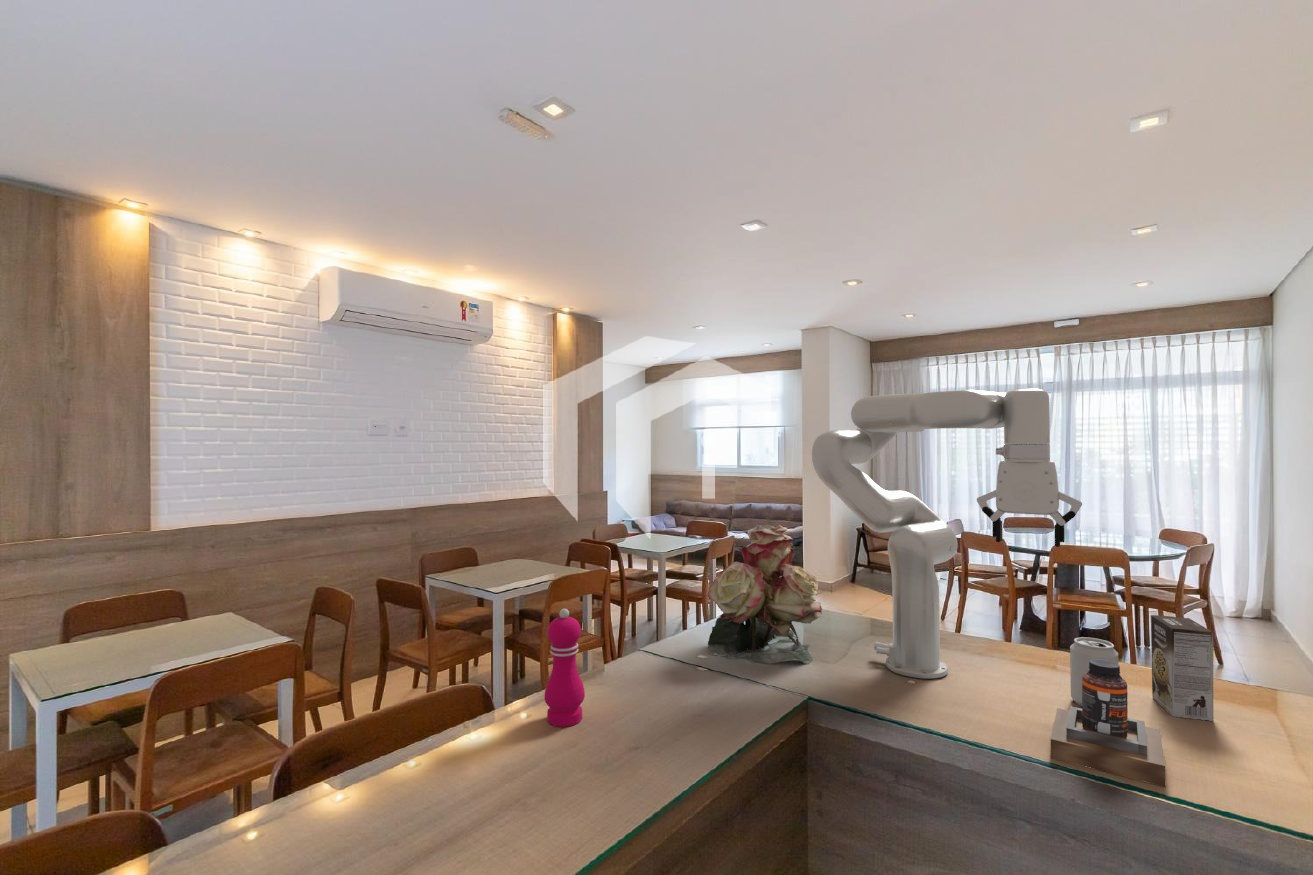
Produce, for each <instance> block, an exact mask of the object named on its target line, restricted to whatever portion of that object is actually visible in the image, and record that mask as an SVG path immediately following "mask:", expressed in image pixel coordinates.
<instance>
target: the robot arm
mask: <svg viewBox="0 0 1313 875" xmlns="http://www.w3.org/2000/svg"><path fill="white" fill-rule="evenodd" d="M850 417H851V420H852V421H851V422H852V423H853V425H854V426H856V429H833V430H829V431H825V432H822V433H821V434H819V436H817V437H816V438H815V440H814V442H813V445H812V447H811V461H812V466H813V469H814V471H815V473H816V475H817V476H818V478H819V479H820V481H821V482H822V484H824V485H825V486H826V487H827V488H828V489H829V490H830V491H832V493H834V494H835V496H837V497H838V498H839V499H840V500H841V501H842V502H843V503H844V505H845V506H846V507H847V508H849V509H850V510H851V512H852V513H853V514H854V515H855V516H856V517H857V518H859V520H861V521H862V522H863V524H865V526H866V527H867V528H868V529H870V530H871V531H872V532H876V533H879V534H881V533H882V534H883V533H890V532H892V533H891V535H890V537H889V538H888V542H887V555H888V560H889V564H890V571H891V587H892V588H891V589H892V590H891V592H892V594H891V595H892V642H889V643H883V642H879V641H875V642H874V645H873V648H874V649H873V650H874V651H875V652H876V654H880V655H886V656H887V658H886V659H885V666H886V667H887V668H888V670H890V671H891V672H893V673H896V674H898V675H901V676H905V677H909V678H915V679H922V680H923V679H927V680H929V679H930V680H931V679H939V678H943V677H945V676H947V674H948V672H949V667H948V665H947V664H946V663H945V662H943V661H941V643H940V642H941V637H940V636H941V634H940V631H941V630H940V628H941V627H940V626H941V625H940V624H941V623H940V621H941V620H940V586H939V581H938V576H937V574H936V570H935V565H938V564H942V563H945V562H948V561H949V560H951V559H952V558H953V557H955V554H956V553H957V550H958V547H959V546H958V538H957V536H956V534H955V532H954V531H953V529H952V528H951V526H949V524H947V522H945V521H944V520H943V519H942V518H941V517H940V516H939V515H938V514H937V513H935V512H934V510H932V509H931V508H929V506H927V504H925V503H924V502H923V501H922V500H921V499H920V498H918V497H917V496H916V495H914V494H912V493H910V492H909V491H905V490H902V489H901V490H900V489H894V490H891V489H890V490H886V489H884V488H882V487H881V486H880V485H879V484H877V482H875V481H874V480H873V479H872V478H871V477H870V476H869V475H868V474H866V473H865V472H864V471H862V470H860V469H859V468H858V467H856V466H854V465H858V464H864V463H867V462H869V461H871V460H872V459H873V458H874V457H876V456H877V455H878V453H879V452H881V451H882V449H883V448H884V447H886V446H887V445H888V444H889V442H891V440H892V439H894V437H895V436H897V434H898V433H901V432H902V433H905V432H906V433H915V432H916V433H917V432H918V433H919V432H924V431H925V430H929V429H931V430H932V429H985V430H988V429H989V430H991V429H999V428H1003V435H1004V436H1003V440H1004V441H1003V443H1004V444H1003V446H1002V447H996V448H995V455H997V456H1002V457H1003V459H1004V460H1000V461H999V464H998V467H997V468H998V469H997V476H996V486H995V487H996V488H995V489H994V490H992V491H990V492H988V493H986V494H983V495H980V496H978V497H976V502H977V504H978V505H979V507H980V509H981V511H982V512H983V513H984V515H986V516H987V517H988V518H989V519H990V521H992V522H991V523H992V526H991V527H992V537H993V538H995V542H996V543H1000V542H1002V541H1003V520H1001V519H1002V517H1003V515H1004V514H1006V513H1007V514H1018V515H1019V514H1021V515H1022V514H1023V515H1036V516H1037V515H1041V516H1050V517H1051V518H1052V519H1053V520H1054V521H1055V525H1054V547H1056V548H1060V547H1061V543H1065V539H1066V538H1065V536H1066V535H1065V525H1067V523H1069V522H1070V521H1071V520H1073V518H1075V517H1076V515H1077V514H1078V512H1079V510H1080V509H1081V507H1082V506H1083V502H1082V501H1080V500H1078V499H1077V498H1074V497H1071V496H1070V495H1067V494H1066V493H1064V492H1062V491H1059V481H1058V474H1057V468H1056V464H1055V461H1052V460H1051V439H1050V438H1051V436H1050V434H1051V433H1050V429H1051V428H1050V427H1051V426H1050V395H1049V393H1048V392H1047V390H1045V389H1040V388H1025V389H1023V388H1022V389H1021V388H1020V389H1012V390H1009V391H1007V392H997V391H989V390H978V389H977V390H976V389H961V390H960V389H958V390H944V391H934V392H933V391H931V392H915V393H914V392H911V393H896V394H885V395H884V394H883V395H869V396H865V397H862V398H860V399H859V400H856V402H855V403H854V404H853V406H852V407H851V411H850ZM991 499H995V507H996V510H995V511H994V510H993V509H992V508H991V507H990V506H989V504H988V501H989V500H991ZM1060 501H1061V502H1064V503H1065V504H1068V505H1070V506H1071V507H1070V508H1069V511H1068V512H1066V513H1065V514H1064V515H1063V514H1062V513H1061V512H1059V511H1058V510H1059V508H1060Z"/></svg>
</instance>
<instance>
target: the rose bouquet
mask: <svg viewBox="0 0 1313 875" xmlns="http://www.w3.org/2000/svg"><path fill="white" fill-rule="evenodd" d="M787 531H788V527H784V526H782V525H781V524H777V526H776V527H775V526H773V525H771V524H760V525H758V524H757V525H756V526H754V527H753V528H750V529H748V530H745V531H744V533H745V534H746V535H747V536H748V538H749V540H750V543H749V544H748V545H746V546H743V547H740V548H738V550H739V551H740V552H741V556H742V557H743V562H744V563H743V562H739V561H734V562H732V563H730V564H729V565H727V566H726V567H725V568H724V570H722V572H721V573H720V574H718V576H716V577H715V578H714V580H713V581H712V584H711V585H710V586H709V587H708V588H709V589H708V592H707V597H708V599H709V600H712V601H713V602H714V603H715V604H716V605H717V607H718V609H720V612H723V613H721V614H720V615H719V617H718V618H716V620H715V625H714V626H712V627H711V633H710V635H709V638H708V641H707V650H708V653H709V654H710V656H715V657H724V656H728V657H726V658H724V659H725V660H726V659H733V658H735V659H736V658H739V659H742V658H743V659H744V658H746V659H747V660H749V661H751V662H752V663H756V664H766V665H767V664H768V665H769V664H777V663H781V662H789V661H800V662H802V663H803V664H804V665H807V664H808V665H809V664H810V662H812V661H813V657H812V655H811V653H809V651H808V649H809V648H810V647H811V646H812V645H811V644H803V645H802V643H801V642H800V641H799V639H800V637H799V636H798V634H797V631H796V628H795V626H794V625H793V622H795V623H801V624H810V625H811V624H812V622H814V621H816V620H817V619H819V618H821V617H822V614H823V613H822V612H823V611H822V610H823V608H822V607H823V606H822V605H821V601H816V596H817V595H818V592H817V591H818V590H819V581H818V579H817V577H816V576H814V575H812V574H810V573H809V572H808V571H807V570H806V569H805V568H803V567H801V566H798V565H792V561H793V559H794V557H795V554H796V549H795V548H793V545H794V543H792V542H793V541H794V539H793V537H791V536H789V535H787V534H785V533H786V532H787ZM773 639H774V640H776V642H773V643H771V641H773ZM769 643H770V644H769ZM766 647H768V648H767V649H765V650H761V651H758V650H760V648H766ZM749 650H751V651H749ZM739 652H741V653H739ZM737 653H738V654H737Z"/></svg>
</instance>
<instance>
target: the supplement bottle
mask: <svg viewBox="0 0 1313 875" xmlns="http://www.w3.org/2000/svg"><path fill="white" fill-rule="evenodd" d="M1089 669H1090V670H1089V671H1088V672H1086V673H1084V674H1083V676H1082V706H1081V709H1082V727H1083V729H1084V730H1088V731H1093V732H1097V733H1102V734H1106V735H1111V736H1115V737H1120V738H1124V739H1126V738H1127V732H1128V725H1127V724H1128V718H1129V717H1128V713H1129V712H1128V703H1129V702H1128V684H1127V681H1126V680H1125V679H1124V678H1123V677H1122V675H1121V671H1120V670H1121V667H1120V664H1119V665H1118V664H1117V663H1114V662H1111V661H1107V660H1101V659H1091V660H1090V661H1089Z"/></svg>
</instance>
